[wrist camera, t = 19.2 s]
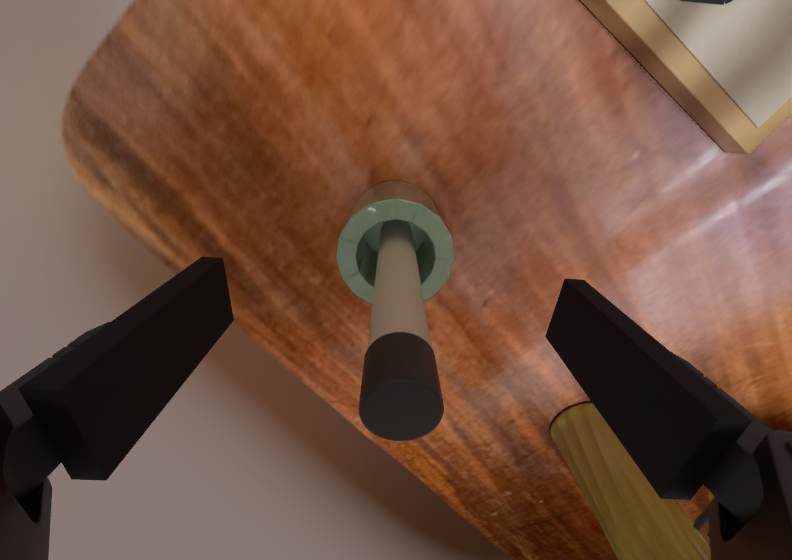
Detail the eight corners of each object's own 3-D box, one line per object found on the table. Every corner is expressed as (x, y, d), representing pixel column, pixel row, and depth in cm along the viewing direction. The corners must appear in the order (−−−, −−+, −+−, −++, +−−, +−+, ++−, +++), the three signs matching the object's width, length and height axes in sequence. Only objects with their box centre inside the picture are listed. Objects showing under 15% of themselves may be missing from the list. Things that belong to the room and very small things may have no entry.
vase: (625, 400, 29) (813, 626, 16) (606, 447, 31) (753, 672, 19) (556, 401, 29) (688, 628, 16) (543, 448, 31) (647, 673, 19)
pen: (373, 235, 21) (342, 421, 8) (391, 208, 20) (389, 367, 7) (400, 252, 22) (411, 453, 9) (418, 226, 21) (461, 404, 8)
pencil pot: (333, 238, 22) (315, 273, 17) (381, 160, 20) (377, 174, 15) (406, 283, 23) (409, 326, 18) (458, 215, 21) (478, 243, 16)
